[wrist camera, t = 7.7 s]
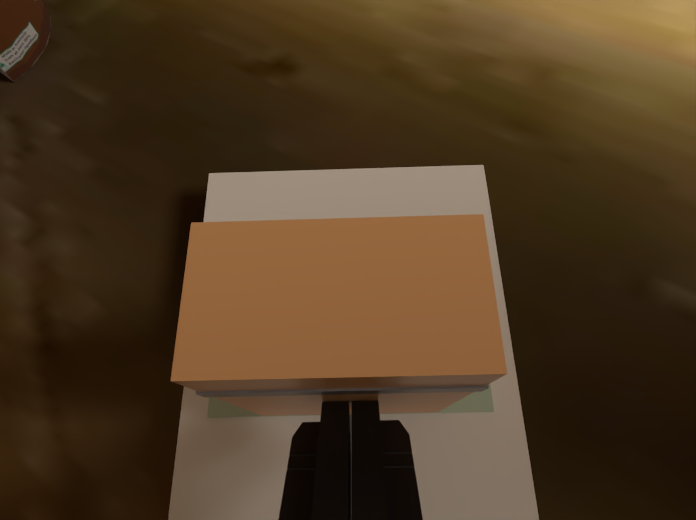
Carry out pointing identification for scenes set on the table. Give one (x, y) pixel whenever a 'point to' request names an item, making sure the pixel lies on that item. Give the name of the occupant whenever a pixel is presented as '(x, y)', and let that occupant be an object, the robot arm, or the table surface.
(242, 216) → the white slider board
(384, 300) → the fader tab
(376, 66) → the table surface
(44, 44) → the food container
